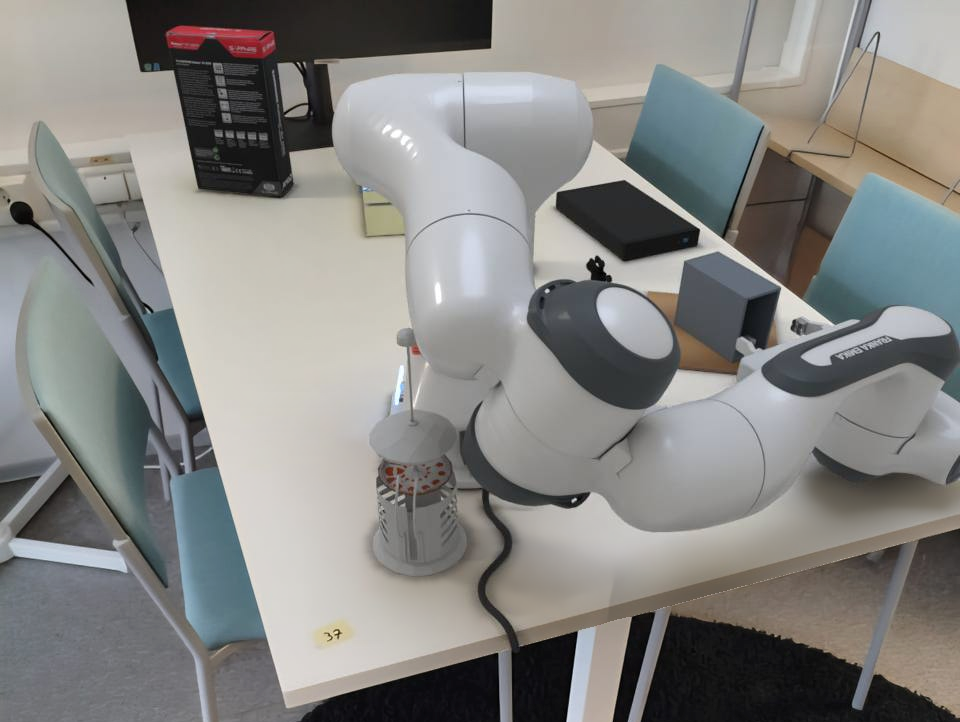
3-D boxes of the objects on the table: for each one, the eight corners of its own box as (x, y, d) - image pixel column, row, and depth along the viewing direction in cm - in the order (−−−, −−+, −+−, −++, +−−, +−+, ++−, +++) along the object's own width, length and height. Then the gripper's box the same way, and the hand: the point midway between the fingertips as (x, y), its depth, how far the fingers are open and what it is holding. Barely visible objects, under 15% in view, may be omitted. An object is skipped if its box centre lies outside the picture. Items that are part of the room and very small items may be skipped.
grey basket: (765, 351, 116) (781, 287, 110) (731, 363, 114) (746, 298, 108) (706, 313, 124) (718, 251, 118) (673, 323, 122) (684, 260, 116)
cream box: (451, 231, 147) (450, 171, 140) (363, 236, 145) (358, 175, 138) (426, 141, 181) (424, 89, 174) (355, 144, 179) (350, 92, 173)
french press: (471, 511, 92) (469, 303, 76) (460, 592, 83) (456, 376, 67) (380, 506, 93) (360, 299, 77) (360, 586, 84) (332, 370, 68)
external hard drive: (623, 195, 159) (625, 179, 157) (697, 246, 142) (700, 228, 140) (555, 208, 154) (556, 192, 152) (623, 261, 138) (625, 244, 136)
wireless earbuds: (612, 298, 129) (616, 267, 125) (597, 301, 128) (600, 269, 125) (591, 277, 134) (594, 247, 130) (577, 280, 133) (579, 249, 130)
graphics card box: (297, 185, 162) (275, 26, 145) (284, 199, 157) (260, 36, 140) (211, 179, 165) (180, 22, 147) (196, 193, 159) (161, 32, 142)
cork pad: (781, 379, 112) (782, 375, 112) (642, 364, 115) (642, 361, 114) (770, 304, 127) (771, 301, 127) (647, 293, 130) (648, 290, 129)
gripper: (781, 432, 99) (701, 374, 109) (902, 383, 107) (818, 333, 116) (794, 387, 95) (710, 330, 105) (919, 339, 103) (831, 291, 112)
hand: (768, 331), depth 110 cm, fingers open, 8 cm apart
